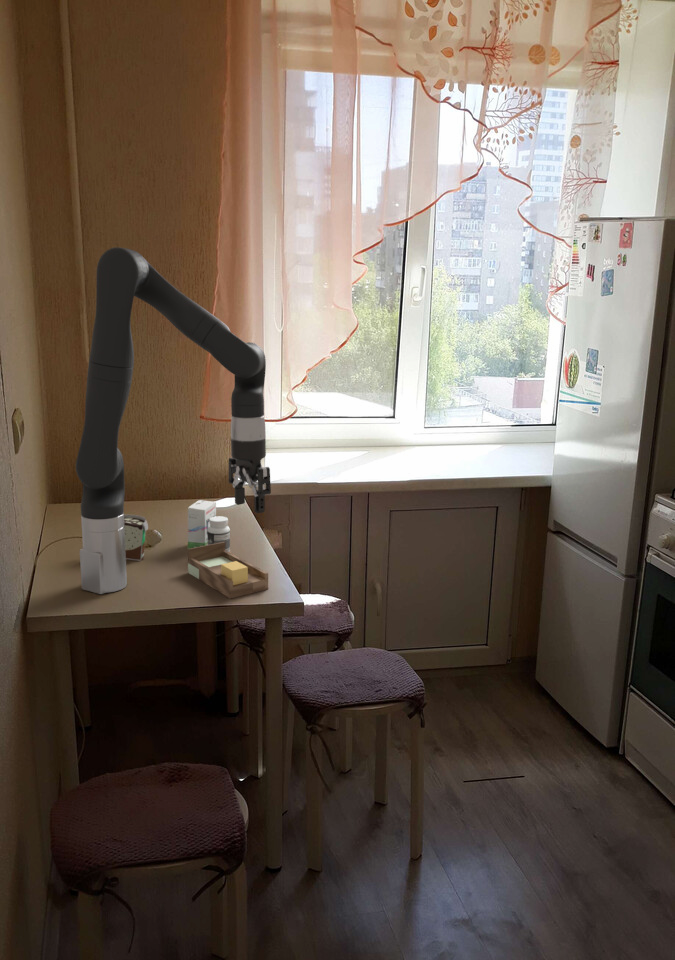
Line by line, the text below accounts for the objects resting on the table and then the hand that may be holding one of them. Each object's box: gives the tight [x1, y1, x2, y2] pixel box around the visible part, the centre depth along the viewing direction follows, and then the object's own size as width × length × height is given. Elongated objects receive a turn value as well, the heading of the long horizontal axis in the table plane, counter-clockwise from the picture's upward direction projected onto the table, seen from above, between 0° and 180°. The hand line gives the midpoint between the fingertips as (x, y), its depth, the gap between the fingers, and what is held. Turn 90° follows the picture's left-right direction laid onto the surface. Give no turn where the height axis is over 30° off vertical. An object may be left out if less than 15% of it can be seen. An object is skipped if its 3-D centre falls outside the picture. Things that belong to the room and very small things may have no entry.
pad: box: [187, 556, 232, 580], centre depth 200 cm, size 6×9×2 cm, turn 127°
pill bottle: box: [207, 515, 231, 553], centre depth 211 cm, size 6×6×10 cm
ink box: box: [187, 499, 217, 550], centre depth 217 cm, size 9×5×12 cm, turn 168°
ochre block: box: [221, 561, 248, 585], centre depth 188 cm, size 5×4×4 cm
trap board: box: [187, 542, 269, 599], centre depth 194 cm, size 20×10×6 cm, turn 37°
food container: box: [124, 514, 149, 562], centre depth 210 cm, size 12×6×10 cm, turn 74°
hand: (249, 508), depth 184 cm, fingers open, 8 cm apart
